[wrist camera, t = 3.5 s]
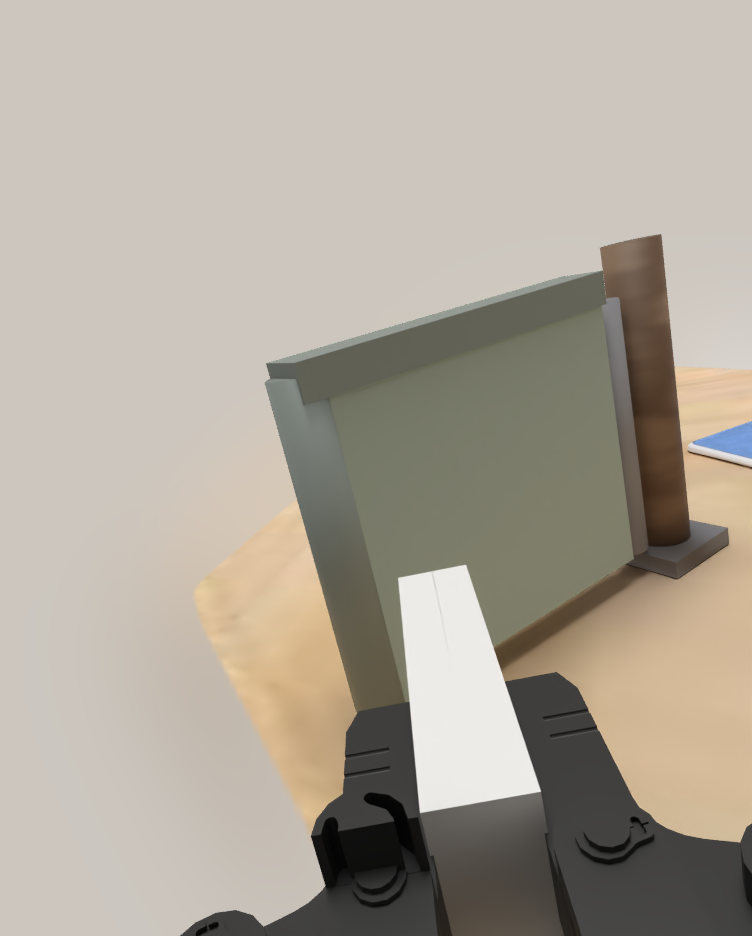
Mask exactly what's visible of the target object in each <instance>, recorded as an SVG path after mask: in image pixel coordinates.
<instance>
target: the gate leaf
mask: <svg viewBox="0 0 752 936" xmlns="http://www.w3.org/2000/svg"><path fill="white" fill-rule="evenodd" d="M267 368H268V372H269V376H270V379H269V380H267V381H266V382H265V385H266V389H267V392H268V396H269V400H270V403H271V407H272V411H273V414H274V417H275V421H276V425H277V429H278V432H279V436H280V439H281V443H282V446H283V450H284V454H285V457H286V461H287V464H288V468H289V472H290V475H291V479H292V483H293V486H294V489H295V493H296V497H297V501H298V504H299V508H300V511H301V515H302V519H303V522H304V526H305V529H306V533H307V537H308V540H309V544H310V547H311V551H312V555H313V558H314V562H315V565H316V569H317V573H318V576H319V580H320V583H321V587H322V591H323V594H324V598H325V601H326V605H327V609H328V612H329V616H330V619H331V623H332V627H333V630H334V634H335V637H336V641H337V645H338V648H339V652H340V655H341V659H342V663H343V666H344V670H345V673H346V677H347V681H348V684H349V688H350V691H351V695H352V699H353V702H354V706H355V709H356V712H357V713H358V711H362V710H367V709H372V708H378V707H383V706H388V705H394V704H399V703H405V702H408V701H409V690H408V679H407V668H406V658H405V647H404V636H403V625H402V614H401V604H400V593H399V582H398V578H400V577H406V576H411V575H416V574H421V573H426V572H431V571H436V570H441V569H446V568H452V567H457V566H462V565H466V566H467V569H468V572H469V575H470V578H471V581H472V585H473V588H474V591H475V594H476V597H477V600H478V603H479V606H480V609H481V612H482V615H483V618H484V621H485V624H486V627H487V630H488V633H489V636H490V639H491V642H492V645H493V647H495V646H497V645H498V644H500V643H501V642H503V641H504V640H506V639H508V638H509V637H511V636H512V635H514V634H516V633H517V632H519V631H520V630H522V629H523V628H525V627H527V626H528V625H530V624H531V623H533V622H535V621H536V620H538V619H539V618H541V617H542V616H544V615H546V614H547V613H549V612H550V611H552V610H554V609H555V608H557V607H558V606H560V605H561V604H563V603H565V602H566V601H568V600H569V599H571V598H573V597H574V596H576V595H577V594H579V593H580V592H582V591H584V590H585V589H587V588H588V587H590V586H592V585H593V584H595V583H596V582H598V581H599V580H601V579H603V578H604V577H606V576H607V575H609V574H611V573H612V572H614V571H615V570H617V569H618V568H620V567H622V566H623V565H625V564H626V563H628V562H630V561H631V560H633V559H634V556H633V555H638V554H641V553H644V552H645V551H647V550H648V548H649V545H648V537H647V528H646V520H645V511H644V503H643V495H642V486H641V478H640V469H639V461H638V452H637V444H636V435H635V427H634V419H633V410H632V402H631V393H630V385H629V376H628V368H627V360H626V351H625V343H624V334H623V326H622V317H621V309H620V300H619V297H612V298H606V294H605V286H604V278H603V271H598V272H591V273H585V274H579V275H571V276H564V277H560V278H557V279H553V280H549V281H546V282H542V283H539V284H536V285H532V286H529V287H525V288H522V289H519V290H515V291H512V292H508V293H505V294H502V295H498V296H495V297H491V298H488V299H484V300H481V301H478V302H474V303H471V304H468V305H464V306H460V307H457V308H454V309H451V310H447V311H443V312H440V313H437V314H433V315H430V316H426V317H423V318H419V319H416V320H413V321H409V322H406V323H402V324H399V325H396V326H392V327H389V328H385V329H382V330H379V331H375V332H372V333H368V334H365V335H361V336H358V337H355V338H352V339H348V340H344V341H342V342H338V343H334V344H331V345H328V346H324V347H320V348H317V349H314V350H311V351H307V352H304V353H300V354H297V355H293V356H290V357H286V358H283V359H280V360H276V361H273V362H269V363H267Z"/></svg>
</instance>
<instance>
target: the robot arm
mask: <svg viewBox="0 0 752 936" xmlns="http://www.w3.org/2000/svg"><path fill="white" fill-rule="evenodd" d="M398 582H399V593H400V604H401V614H402V625H403V636H404V647H405V658H406V668H407V679H408V690H409V701H410V702H405V703H399V704H394V705H388V706H383V707H378V708H372V709H367V710H362V711H358V713H357V715H356V717H355V718H354V720H353V722H352V724H351V725H350V727H349V729H348V731H347V732H346V748H345V757H346V760H345V767H344V776H345V779H344V786H343V794H342V795H341V796H340V797H338V798H337V799H335V800H334V801H332V802H331V803H329V804H328V805H327V807H326V808H325V809H324V810H323V812H322V813H321V814H320V815H319V817H318V818H317V819H316V822H315V825H314V828H313V831H312V834H311V838H312V841H313V845H314V848H315V852H316V855H317V858H318V862H319V865H320V869H321V872H322V875H323V878H324V882H325V885H326V886H325V887H324V889H323V890H322V891H321V892H320V893H319V894H318V895H317V896H316V897H315V898H314V899H312V900H311V901H310V902H309V903H308V904H306V905H304V906H303V907H301V908H299V909H298V910H296V911H295V912H293V913H291V914H289V915H287V916H285V917H283V918H281V919H279V920H277V921H275V922H273V923H271V924H269V925H266V926H264V927H263V926H262V925H261V924H260V923H259V922H258V921H257V920H256V919H255V917H254V916H253V915H250V914H246V913H243V912H240V911H237V910H234V911H227V912H219V913H215V914H213V915H211V916H209V917H207V918H204V919H203V920H200V921H198V922H196V923H195V924H193V925H192V926H191V927H190V928H189V929H188V930H186V931H185V932H184V933H183V934H182V935H181V936H752V824H750V825H749V826H748V827H746V830H745V832H744V835H743V837H742V840H741V842H740V843H738V842H728V841H719V840H709V839H701V838H696V837H691V836H686V835H683V834H680V833H677V832H675V831H672V830H669V829H667V828H665V827H664V826H662V825H660V824H659V823H657V822H656V821H655V820H654V819H653V818H652V816H651V815H650V814H649V813H647V812H646V811H644V810H642V809H641V808H639V806H638V805H637V803H636V802H635V800H634V799H633V797H632V795H631V793H630V791H629V789H628V787H627V785H626V783H625V781H624V779H623V777H622V775H621V773H620V771H619V769H618V767H617V765H616V764H615V762H614V760H613V758H612V756H611V754H610V752H609V750H608V748H607V746H606V744H605V742H604V740H603V738H602V736H601V734H600V732H599V731H598V729H597V726H596V724H595V722H594V720H593V718H592V716H591V714H590V713H589V711H588V708H587V706H586V704H585V702H584V700H583V698H582V696H581V694H580V692H579V690H578V688H577V687H576V686H574V685H573V684H572V683H570V682H569V681H568V680H566V679H565V678H564V677H562V676H561V675H560V674H558V673H557V672H555V673H549V674H544V675H539V676H533V677H528V678H522V679H517V680H512V681H506V682H505V681H504V678H503V675H502V672H501V669H500V666H499V663H498V660H497V657H496V654H495V651H494V648H493V645H492V642H491V639H490V636H489V633H488V630H487V627H486V624H485V621H484V618H483V615H482V612H481V609H480V606H479V603H478V600H477V597H476V594H475V591H474V588H473V585H472V581H471V578H470V575H469V572H468V569H467V566H466V565H462V566H457V567H452V568H446V569H441V570H436V571H431V572H426V573H421V574H416V575H411V576H406V577H400V578H398Z"/></svg>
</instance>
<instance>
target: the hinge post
mask: <svg viewBox="0 0 752 936" xmlns="http://www.w3.org/2000/svg"><path fill="white" fill-rule="evenodd" d="M600 251H601V259H602V266H603V275H604V283H605V291H606V298H612V297H619V300H620V309H621V317H622V326H623V334H624V343H625V351H626V360H627V368H628V376H629V385H630V393H631V402H632V410H633V419H634V427H635V435H636V444H637V452H638V461H639V469H640V478H641V486H642V495H643V503H644V511H645V520H646V528H647V537H648V545H649V548H648V550H647V551H645V552H644V553H641V554H638V555H633V556H634V559H633V560H631V561H630V562H628V563H626V564H628V565H632V566H635V567H638V568H642V569H645V570H649V571H652V572H656V573H659V574H663V575H666V576H669V577H673V578H676V579H678V578H680V577H681V576H682V575H684V574H685V573H687V572H688V571H690V570H691V569H693V568H694V567H696V566H697V565H698V564H700V563H701V562H703V561H704V560H706V559H707V558H709V557H710V556H712V555H713V554H714V553H716V552H717V551H719V550H720V549H722V548H723V547H725V546H726V545H728V544H729V537H728V528H726V527H721V526H716V525H711V524H706V523H701V522H696V521H691V520H689V512H688V502H687V492H686V482H685V471H684V461H683V451H682V441H681V431H680V421H679V410H678V400H677V390H676V380H675V370H674V360H673V350H672V339H671V329H670V319H669V309H668V300H667V299H668V298H667V288H666V279H665V268H664V258H663V248H662V237H661V234H660V235H653V236H648V237H643V238H638V239H633V240H629V241H624V242H620V243H616V244H611V245H608V246H604V247H601V248H600Z"/></svg>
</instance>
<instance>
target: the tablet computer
mask: <svg viewBox="0 0 752 936" xmlns="http://www.w3.org/2000/svg"><path fill="white" fill-rule="evenodd" d="M688 451H690V452H693V453H697V454H701V455H706V456H710V457H714V458H718V459H722V460H726V461H730V462H734V463H737V464H741V465H745V466H749V467H752V421H751V422H748V423H745V424H742V425H739V426H736V427H734V428H731V429H728V430H725V431H722V432H719V433H716V434H713V435H710V436H708V437H705V438H702V439H699V440H696V441H694V442H692V443H690V444H689V445H688Z"/></svg>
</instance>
